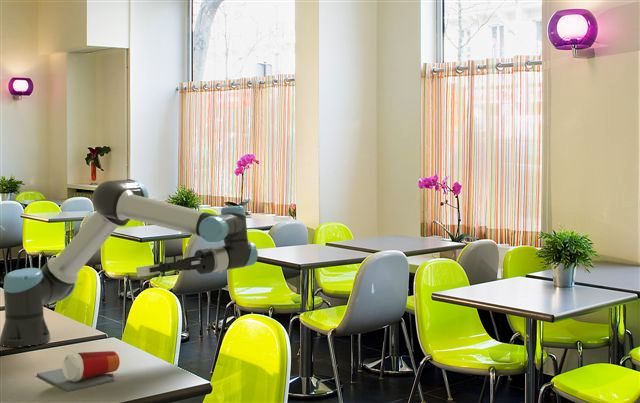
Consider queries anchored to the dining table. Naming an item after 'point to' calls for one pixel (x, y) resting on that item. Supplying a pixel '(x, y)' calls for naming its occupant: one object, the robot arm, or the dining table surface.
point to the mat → (68, 385)
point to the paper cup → (89, 364)
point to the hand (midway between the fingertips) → (137, 272)
